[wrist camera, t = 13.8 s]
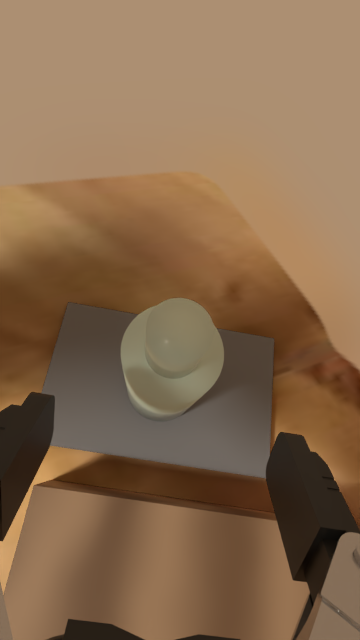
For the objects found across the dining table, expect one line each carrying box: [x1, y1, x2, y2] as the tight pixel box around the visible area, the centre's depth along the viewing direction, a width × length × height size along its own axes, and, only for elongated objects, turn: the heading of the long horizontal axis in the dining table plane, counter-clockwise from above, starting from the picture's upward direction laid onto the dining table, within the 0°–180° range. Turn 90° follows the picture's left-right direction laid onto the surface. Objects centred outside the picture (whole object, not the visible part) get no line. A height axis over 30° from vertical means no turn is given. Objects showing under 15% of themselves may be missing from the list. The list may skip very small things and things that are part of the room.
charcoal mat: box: [42, 302, 274, 478], centre depth 24 cm, size 16×10×1 cm, turn 82°
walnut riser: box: [3, 480, 360, 640], centre depth 18 cm, size 22×10×4 cm, turn 82°
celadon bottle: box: [121, 298, 224, 422], centre depth 18 cm, size 5×5×12 cm
